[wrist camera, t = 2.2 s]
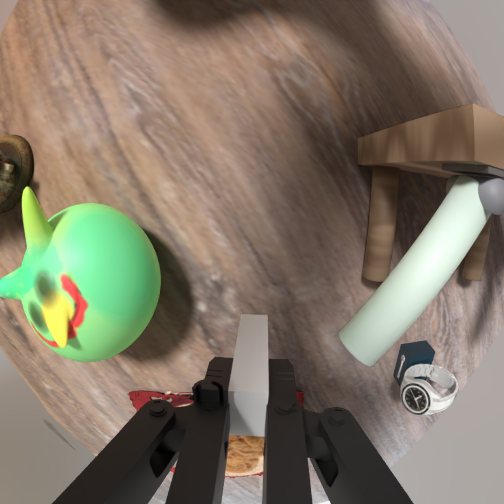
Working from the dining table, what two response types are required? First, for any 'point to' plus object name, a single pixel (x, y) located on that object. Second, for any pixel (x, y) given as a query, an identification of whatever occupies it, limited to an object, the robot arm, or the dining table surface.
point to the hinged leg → (424, 267)
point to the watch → (422, 379)
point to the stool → (428, 173)
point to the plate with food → (240, 447)
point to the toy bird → (85, 279)
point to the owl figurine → (14, 169)
